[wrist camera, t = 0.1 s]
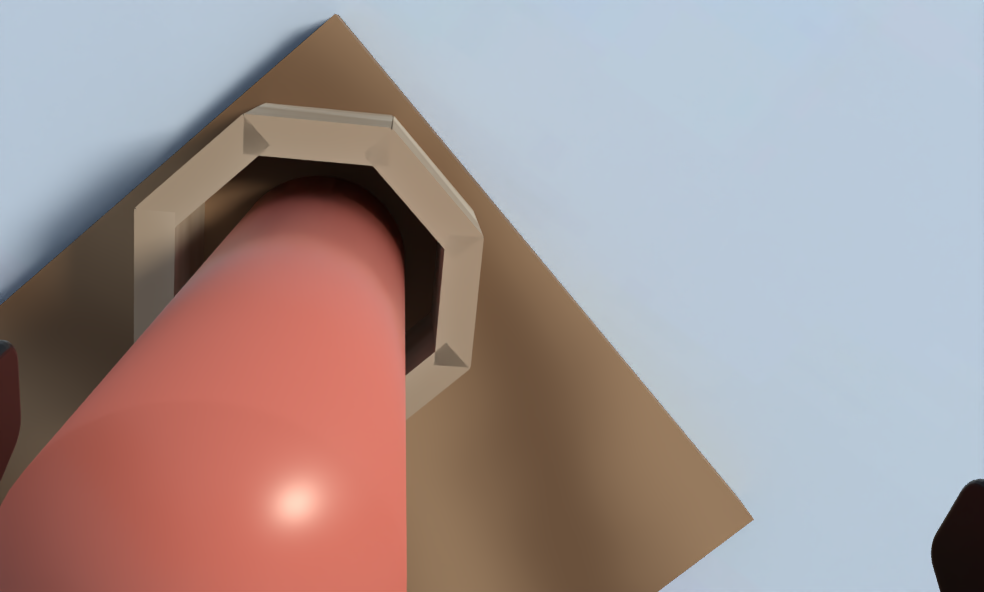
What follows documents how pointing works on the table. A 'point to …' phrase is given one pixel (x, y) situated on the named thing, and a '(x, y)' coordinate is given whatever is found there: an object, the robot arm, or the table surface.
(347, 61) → the walnut board
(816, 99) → the table surface
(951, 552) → the robot arm
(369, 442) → the red plug
